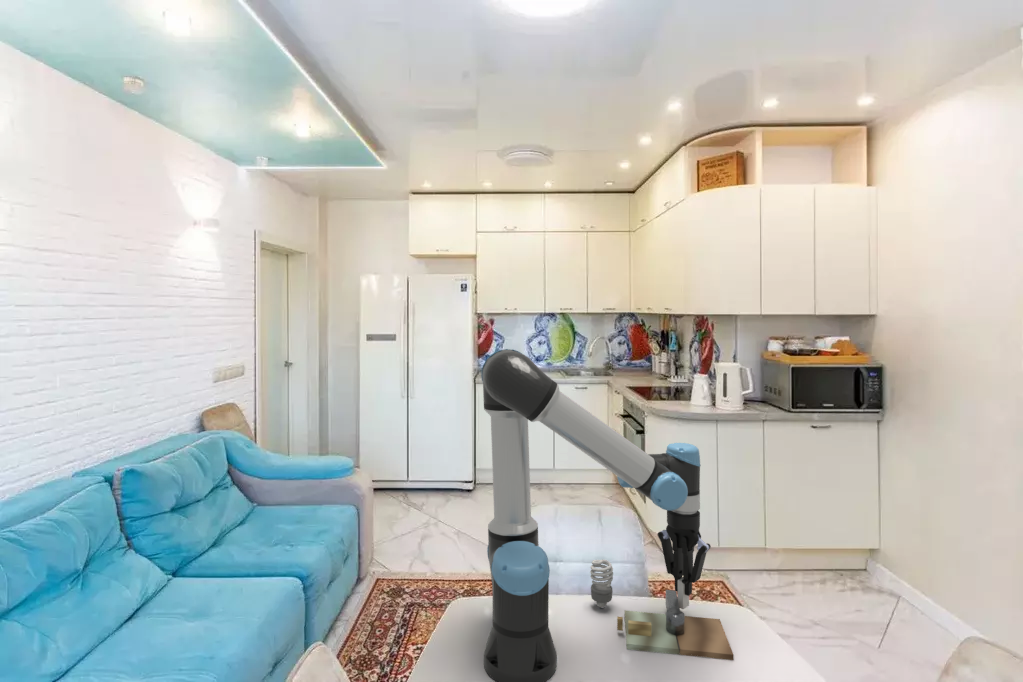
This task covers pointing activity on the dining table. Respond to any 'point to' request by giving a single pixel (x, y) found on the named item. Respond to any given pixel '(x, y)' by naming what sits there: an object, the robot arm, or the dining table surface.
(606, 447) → the robot arm
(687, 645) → the door board
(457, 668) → the dining table surface
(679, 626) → the bar
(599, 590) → the light bulb
